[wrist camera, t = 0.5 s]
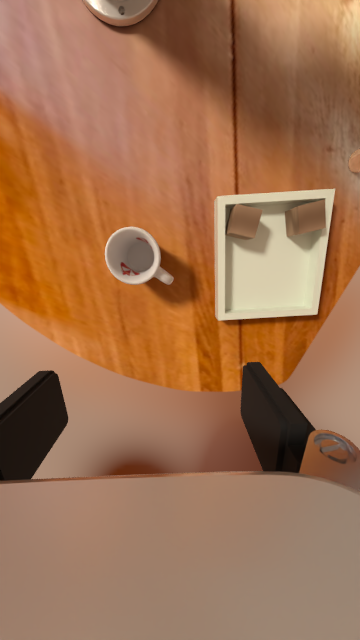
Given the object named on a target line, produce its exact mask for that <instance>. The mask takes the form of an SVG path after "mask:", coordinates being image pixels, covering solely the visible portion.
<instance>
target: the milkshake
mask: <svg viewBox="0 0 360 640" xmlns="http://www.w3.org/2000/svg"><path fill="white" fill-rule="evenodd" d="M348 165H349V169H350V170H351V171H352V172H353V173H359V172H360V148H359V149H358V150H356V151H355V152H354V153H352V154H351V157H350V159H349V161H348Z"/></svg>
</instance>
